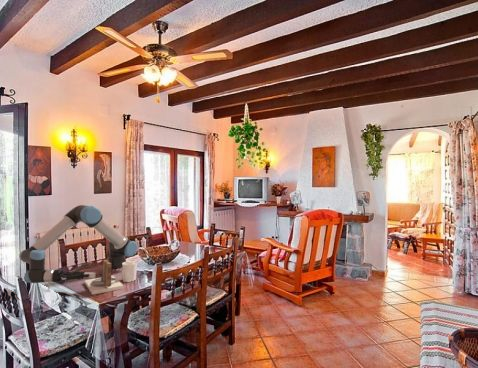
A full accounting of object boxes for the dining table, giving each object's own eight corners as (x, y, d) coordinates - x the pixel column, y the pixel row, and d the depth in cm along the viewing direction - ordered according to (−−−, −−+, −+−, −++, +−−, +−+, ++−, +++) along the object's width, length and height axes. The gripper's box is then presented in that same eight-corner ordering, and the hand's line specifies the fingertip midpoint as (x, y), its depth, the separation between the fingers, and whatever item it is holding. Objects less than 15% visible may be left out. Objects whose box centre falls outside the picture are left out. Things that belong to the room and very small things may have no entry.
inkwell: (65, 277, 202) (65, 263, 202) (93, 273, 212) (94, 260, 212) (66, 281, 194) (66, 266, 194) (95, 277, 204) (95, 263, 204)
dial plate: (113, 278, 202) (113, 275, 202) (123, 288, 183) (123, 285, 183) (84, 283, 191) (84, 280, 191) (92, 294, 172) (92, 291, 172)
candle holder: (118, 280, 198) (119, 263, 198) (131, 276, 206) (131, 260, 206) (127, 283, 193) (127, 265, 193) (139, 279, 201) (140, 262, 201)
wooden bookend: (89, 281, 188) (89, 258, 188) (111, 277, 197) (112, 255, 197) (96, 290, 173) (97, 265, 173) (121, 285, 182) (121, 262, 182)
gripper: (59, 278, 182) (98, 277, 185) (48, 285, 169) (91, 284, 173) (59, 266, 182) (99, 266, 185) (49, 273, 169) (91, 272, 173)
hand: (95, 275), depth 179 cm, fingers closed
